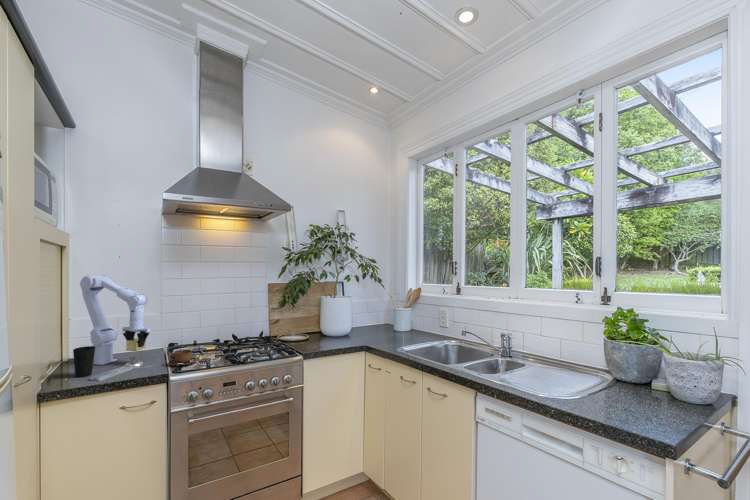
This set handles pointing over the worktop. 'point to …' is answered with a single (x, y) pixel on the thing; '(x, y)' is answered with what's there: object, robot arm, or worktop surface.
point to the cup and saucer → (182, 357)
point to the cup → (83, 361)
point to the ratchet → (119, 369)
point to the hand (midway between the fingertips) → (135, 346)
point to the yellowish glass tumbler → (134, 345)
